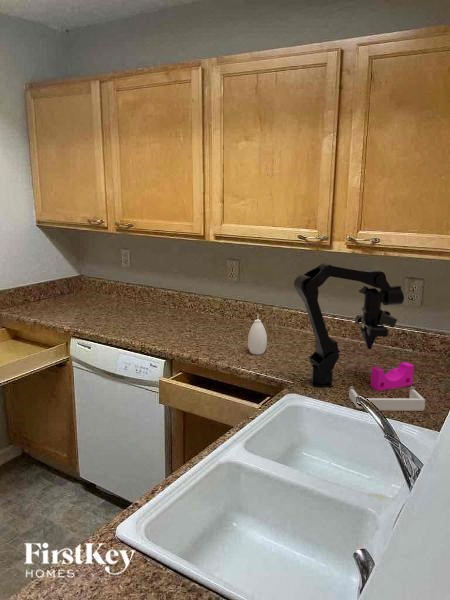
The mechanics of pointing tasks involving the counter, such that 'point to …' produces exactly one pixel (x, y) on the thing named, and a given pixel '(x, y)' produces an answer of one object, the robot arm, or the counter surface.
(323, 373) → the robot arm
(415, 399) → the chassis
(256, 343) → the sauce bottle
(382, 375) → the toy block
